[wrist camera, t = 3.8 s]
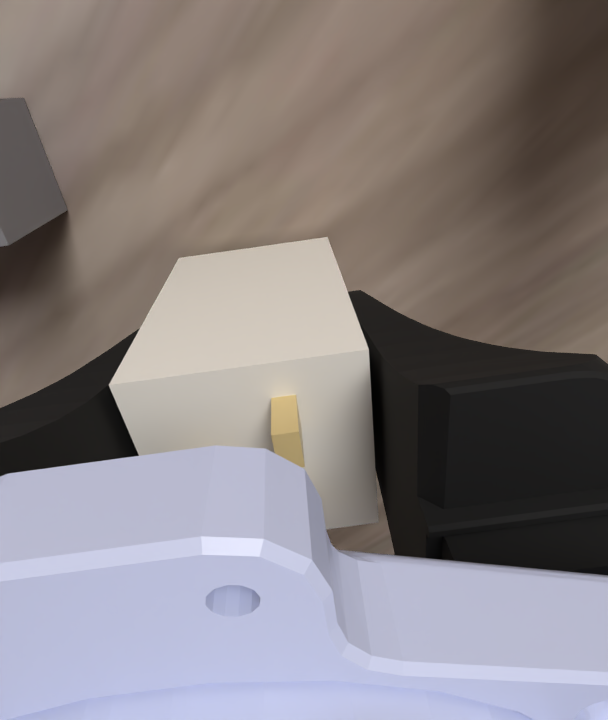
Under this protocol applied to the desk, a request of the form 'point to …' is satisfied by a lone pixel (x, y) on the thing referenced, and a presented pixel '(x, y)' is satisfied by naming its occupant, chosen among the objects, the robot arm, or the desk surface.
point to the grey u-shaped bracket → (24, 175)
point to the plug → (259, 369)
